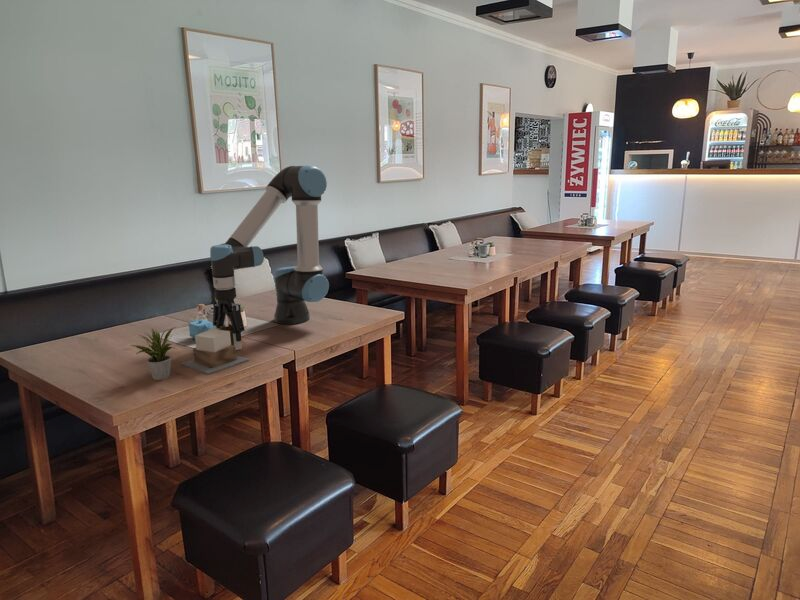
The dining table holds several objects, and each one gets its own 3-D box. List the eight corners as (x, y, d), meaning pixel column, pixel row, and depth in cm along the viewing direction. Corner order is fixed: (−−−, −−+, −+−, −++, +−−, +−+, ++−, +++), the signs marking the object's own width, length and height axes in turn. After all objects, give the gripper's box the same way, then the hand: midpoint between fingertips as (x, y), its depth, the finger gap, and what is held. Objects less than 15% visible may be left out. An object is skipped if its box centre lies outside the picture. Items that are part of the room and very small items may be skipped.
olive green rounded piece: (222, 351, 205) (220, 330, 203) (218, 346, 211) (216, 325, 209) (243, 348, 208) (241, 327, 206) (238, 342, 215) (236, 322, 213)
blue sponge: (185, 337, 224) (183, 318, 222) (199, 333, 228) (197, 315, 226) (202, 342, 216) (200, 323, 214) (216, 338, 221) (214, 320, 219)
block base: (219, 354, 201) (218, 340, 199) (236, 359, 194) (235, 346, 193) (194, 362, 193) (192, 348, 192) (211, 368, 187) (209, 354, 186)
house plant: (163, 365, 193) (157, 319, 189) (195, 370, 187) (189, 323, 183) (129, 380, 180) (122, 331, 176) (162, 386, 175) (155, 335, 171)
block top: (213, 342, 198) (211, 328, 196) (231, 345, 194) (229, 331, 193) (196, 349, 191) (194, 335, 189) (215, 352, 187) (213, 337, 186)
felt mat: (222, 351, 205) (222, 350, 205) (249, 360, 195) (249, 359, 195) (181, 364, 193) (181, 363, 193) (208, 374, 183) (208, 373, 183)
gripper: (198, 286, 208) (205, 344, 213) (233, 293, 195) (239, 355, 200) (216, 282, 214) (222, 339, 219) (251, 289, 200) (256, 349, 206)
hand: (230, 346), depth 210 cm, fingers open, 9 cm apart
